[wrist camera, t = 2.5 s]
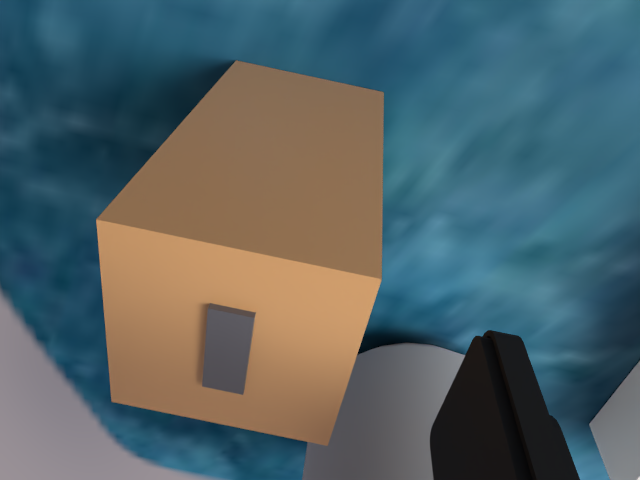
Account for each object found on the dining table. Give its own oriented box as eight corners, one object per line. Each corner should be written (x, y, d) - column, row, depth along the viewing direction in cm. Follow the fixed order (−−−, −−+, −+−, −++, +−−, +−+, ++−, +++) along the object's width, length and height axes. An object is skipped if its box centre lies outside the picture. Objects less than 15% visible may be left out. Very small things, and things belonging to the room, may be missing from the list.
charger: (236, 60, 14) (92, 223, 7) (383, 92, 14) (380, 284, 7) (225, 190, 16) (108, 407, 9) (351, 216, 16) (327, 451, 9)
